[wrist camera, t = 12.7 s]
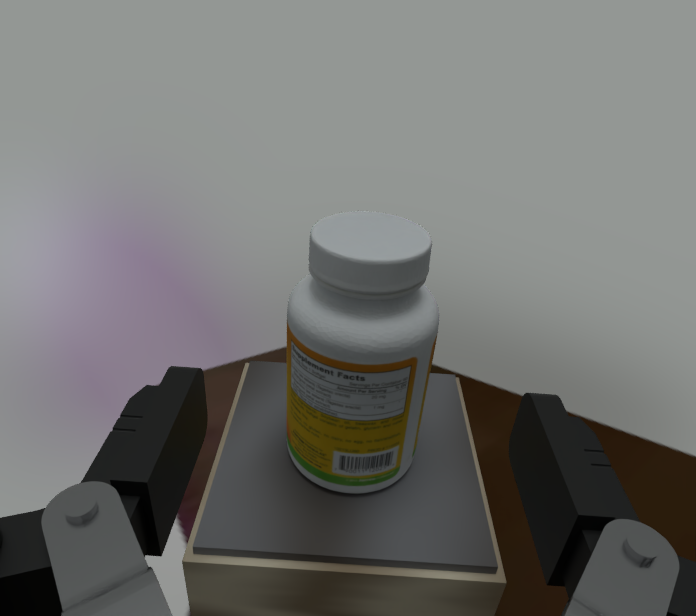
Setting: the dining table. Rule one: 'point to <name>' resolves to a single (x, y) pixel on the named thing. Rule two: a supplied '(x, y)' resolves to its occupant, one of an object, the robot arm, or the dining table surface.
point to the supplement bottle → (360, 351)
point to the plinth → (341, 522)
